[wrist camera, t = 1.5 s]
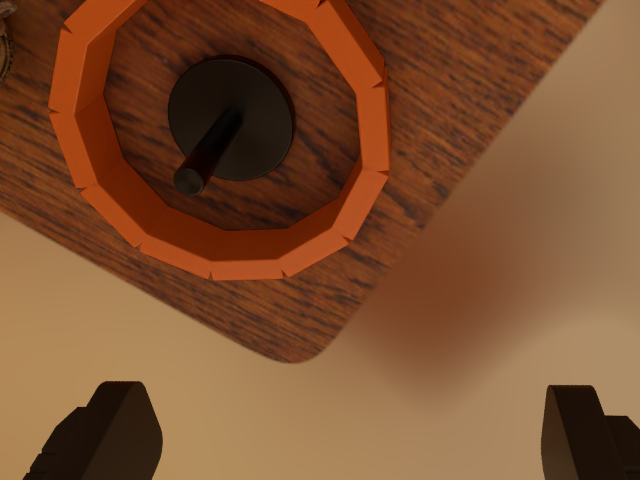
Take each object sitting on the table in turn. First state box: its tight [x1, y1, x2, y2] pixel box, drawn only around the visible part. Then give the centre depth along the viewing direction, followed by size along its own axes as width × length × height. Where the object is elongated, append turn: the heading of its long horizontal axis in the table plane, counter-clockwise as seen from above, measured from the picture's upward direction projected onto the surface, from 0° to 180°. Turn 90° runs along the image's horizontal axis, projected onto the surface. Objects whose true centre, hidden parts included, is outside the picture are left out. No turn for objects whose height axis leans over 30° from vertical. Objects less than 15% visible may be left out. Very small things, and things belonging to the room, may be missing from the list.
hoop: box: [48, 0, 392, 280], centre depth 27 cm, size 15×15×3 cm
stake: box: [168, 55, 296, 196], centre depth 25 cm, size 6×6×7 cm
